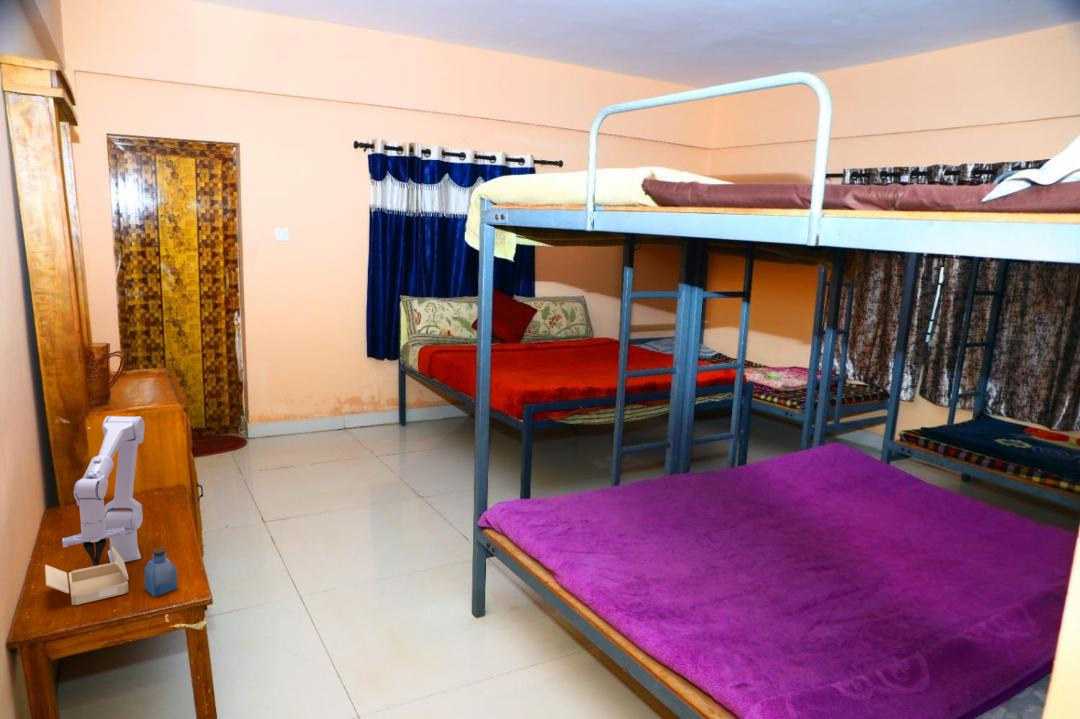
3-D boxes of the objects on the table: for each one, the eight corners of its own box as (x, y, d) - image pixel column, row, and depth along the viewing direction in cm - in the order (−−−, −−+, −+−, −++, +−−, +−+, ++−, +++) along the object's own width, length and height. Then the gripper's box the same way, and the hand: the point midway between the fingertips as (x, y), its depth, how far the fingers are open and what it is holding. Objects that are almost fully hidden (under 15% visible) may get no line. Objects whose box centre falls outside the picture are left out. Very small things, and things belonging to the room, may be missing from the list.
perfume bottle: (167, 580, 202) (165, 542, 200) (177, 588, 198) (175, 550, 196) (145, 588, 197) (142, 549, 195) (154, 596, 194) (152, 557, 191)
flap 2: (122, 561, 204) (111, 546, 202) (123, 560, 204) (112, 546, 202) (127, 579, 195) (115, 564, 192) (128, 579, 195) (117, 563, 193)
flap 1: (65, 573, 196) (44, 566, 193) (66, 572, 196) (45, 564, 193) (68, 593, 187) (46, 585, 183) (69, 592, 187) (47, 584, 183)
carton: (69, 581, 198) (68, 571, 198) (122, 569, 206) (121, 560, 206) (72, 606, 186) (71, 596, 186) (128, 593, 194) (128, 583, 194)
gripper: (61, 530, 185) (65, 577, 187) (124, 519, 193) (127, 564, 196) (60, 520, 190) (64, 565, 193) (121, 510, 199) (124, 553, 201)
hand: (96, 564), depth 195 cm, fingers closed
